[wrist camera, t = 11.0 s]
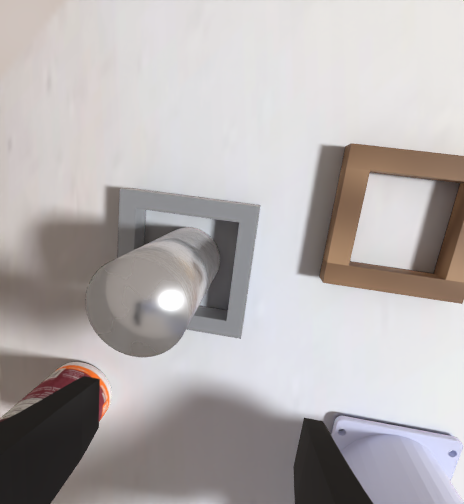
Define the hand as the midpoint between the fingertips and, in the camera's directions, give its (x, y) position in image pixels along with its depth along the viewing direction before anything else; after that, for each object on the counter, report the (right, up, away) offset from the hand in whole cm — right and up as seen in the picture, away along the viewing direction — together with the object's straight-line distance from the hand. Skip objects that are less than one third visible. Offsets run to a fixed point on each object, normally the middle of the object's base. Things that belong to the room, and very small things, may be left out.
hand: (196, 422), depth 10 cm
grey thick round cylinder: (-1, +5, +9) cm, 10 cm away
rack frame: (-1, +5, +9) cm, 10 cm away
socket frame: (+11, +7, +7) cm, 15 cm away
